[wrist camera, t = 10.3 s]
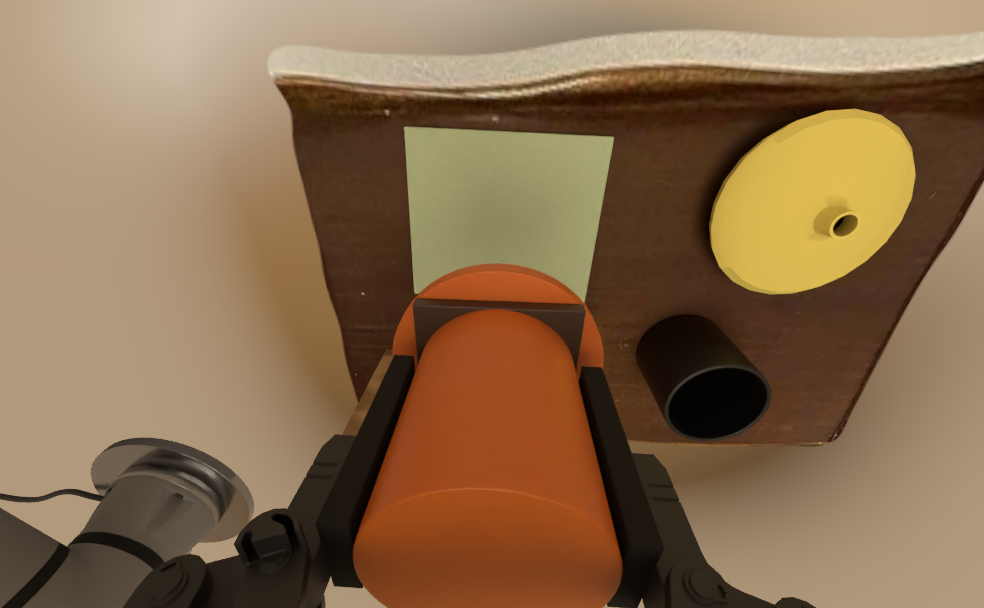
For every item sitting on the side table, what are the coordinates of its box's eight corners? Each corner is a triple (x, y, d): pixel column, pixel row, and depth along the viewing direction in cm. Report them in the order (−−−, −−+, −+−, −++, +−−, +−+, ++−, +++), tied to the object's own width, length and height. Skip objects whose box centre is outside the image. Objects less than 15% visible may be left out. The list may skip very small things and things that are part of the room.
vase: (829, 287, 38) (891, 322, 32) (675, 275, 38) (707, 308, 32) (921, 115, 31) (1026, 117, 25) (730, 101, 31) (786, 100, 25)
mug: (716, 393, 45) (760, 455, 37) (622, 373, 44) (647, 431, 36) (760, 329, 41) (821, 383, 33) (657, 305, 40) (694, 354, 32)
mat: (416, 289, 40) (414, 293, 40) (406, 126, 33) (403, 126, 32) (582, 299, 40) (584, 303, 39) (611, 136, 33) (614, 137, 32)
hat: (406, 425, 19) (333, 648, 11) (386, 259, 15) (246, 430, 7) (585, 434, 19) (638, 668, 11) (616, 266, 14) (740, 454, 7)
